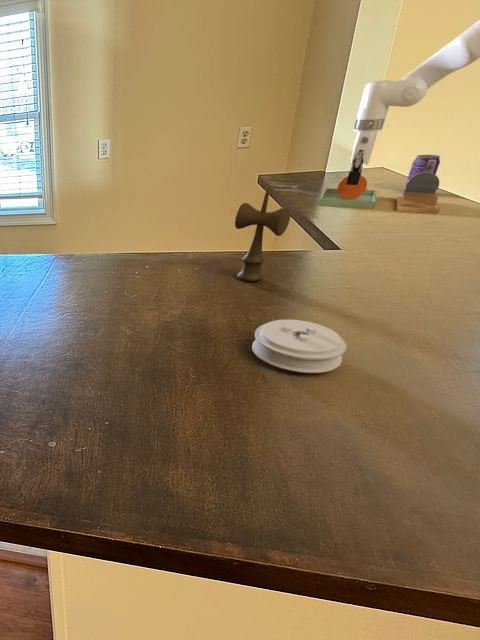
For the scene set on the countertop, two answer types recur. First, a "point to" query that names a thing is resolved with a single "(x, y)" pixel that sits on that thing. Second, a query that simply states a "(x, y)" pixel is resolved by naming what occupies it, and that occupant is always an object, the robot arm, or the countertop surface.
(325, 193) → the tray
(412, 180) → the slate disc
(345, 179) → the orange disc
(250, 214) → the kendama
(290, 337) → the white round disc
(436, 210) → the disc rack
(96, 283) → the countertop surface
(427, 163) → the beverage can
